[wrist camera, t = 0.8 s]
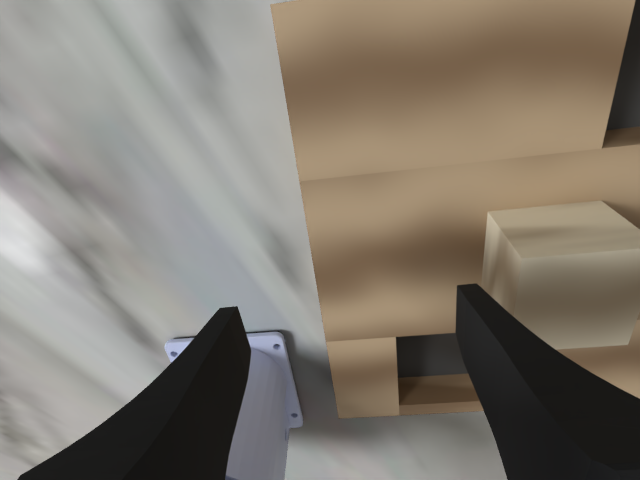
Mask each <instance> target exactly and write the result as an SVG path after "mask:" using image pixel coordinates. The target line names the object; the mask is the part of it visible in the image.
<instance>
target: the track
mask: <svg viewBox="0 0 640 480" xmlns="http://www.w3.org/2000/svg"><path fill="white" fill-rule="evenodd" d="M270 6H271V12H272V18H273V24H274V30H275V36H276V42H277V48H278V54H279V60H280V66H281V72H282V78H283V84H284V90H285V96H286V103H287V109H288V115H289V121H290V127H291V133H292V139H293V145H294V151H295V157H296V163H297V169H298V175H299V181H300V187H301V193H302V199H303V205H304V211H305V218H306V224H307V230H308V236H309V242H310V248H311V254H312V260H313V266H314V272H315V278H316V284H317V290H318V296H319V302H320V308H321V314H322V320H323V326H324V333H325V339H326V345H327V351H328V357H329V363H330V369H331V375H332V381H333V387H334V393H335V399H336V405H337V411H338V417H339V419H342V418H361V417H379V416H398V415H417V414H436V413H455V412H474V411H484V410H483V408H482V405H481V403H480V400H479V398H478V396H477V393H476V391H475V389H474V386H473V384H472V381H471V379H470V377H469V374H468V372H467V369H466V367H465V364H464V362H463V359H462V355H461V352H460V348H459V345H458V341H457V337H456V333H455V330H456V296H457V285H464V284H474V283H477V284H478V285H479V286H480V287H481V281H482V270H483V259H484V248H485V237H486V226H487V214H488V212H489V211H499V210H509V209H520V208H530V207H540V206H550V205H561V204H571V203H581V202H591V201H602V202H604V203H605V204H606V205H608V206H609V207H610V208H612V209H613V210H614V211H616V212H617V213H618V214H620V215H621V216H622V217H624V218H625V219H626V220H628V221H629V222H630V223H632V224H633V225H634V226H636V227H637V228H638V229H640V0H297V1H290V2H283V3H277V4H270ZM557 351H558V352H560V353H561V354H563V355H564V356H566V357H567V358H569V359H571V360H572V361H574V362H575V363H577V364H578V365H580V366H581V367H583V368H585V369H586V370H588V371H590V372H591V373H593V374H595V375H596V376H598V377H600V378H602V379H604V380H605V381H607V382H609V383H611V384H613V385H614V386H616V387H618V388H620V389H622V390H624V391H626V392H628V393H630V394H632V395H634V396H635V397H637V398H639V399H640V312H639V315H638V318H637V321H636V324H635V326H634V329H633V332H632V335H631V338H630V341H629V344H628V345H618V346H603V347H588V348H572V349H557Z"/></svg>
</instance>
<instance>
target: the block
mask: <svg viewBox="0 0 640 480" xmlns="http://www.w3.org/2000/svg"><path fill="white" fill-rule="evenodd" d="M481 287H482V288H483V289H484V290H485V291H486V292H487V293H488V294H489V295H490V296H491V297H492V298H493V299H494V300H495V301H497V302H498V303H499V304H500V305H501V306H502V307H503V308H504V309H505V310H507V311H508V312H509V313H510V314H511V315H512V316H513V317H515V318H516V319H517V320H518V321H519V322H521V323H522V324H523V325H524V326H525V327H527V328H528V329H529V330H530V331H532V332H533V333H534V334H535V335H537V336H538V337H539V338H540V339H542V340H543V341H544V342H546V343H547V344H548V345H550V346H551V347H553V348H554V349H555V350H557V349H572V348H588V347H603V346H618V345H628V344H629V341H630V338H631V335H632V332H633V329H634V326H635V324H636V321H637V318H638V315H639V312H640V229H638V228H637V227H636V226H634V225H633V224H632V223H630V222H629V221H628V220H626V219H625V218H624V217H622V216H621V215H620V214H618V213H617V212H616V211H614V210H613V209H612V208H610V207H609V206H608V205H606V204H605V203H604V202H602V201H591V202H581V203H571V204H561V205H550V206H540V207H530V208H520V209H509V210H499V211H489V212H488V214H487V226H486V237H485V248H484V259H483V270H482V281H481Z"/></svg>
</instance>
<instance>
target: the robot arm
mask: <svg viewBox="0 0 640 480" xmlns="http://www.w3.org/2000/svg"><path fill="white" fill-rule="evenodd" d="M455 333H456V337H457V341H458V345H459V348H460V352H461V355H462V359H463V362H464V364H465V367H466V369H467V372H468V374H469V377H470V379H471V381H472V384H473V386H474V389H475V391H476V393H477V396H478V398H479V400H480V403H481V405H482V408H483V410H484V412H485V415H486V417H487V419H488V422H489V424H490V427H491V429H492V432H493V435H494V437H495V440H496V443H497V446H498V450H499V453H500V456H501V459H502V463H503V466H504V469H505V472H506V476H507V479H508V480H640V399H639V398H637V397H635V396H634V395H632V394H630V393H628V392H626V391H624V390H622V389H620V388H618V387H616V386H614V385H613V384H611V383H609V382H607V381H605V380H604V379H602V378H600V377H598V376H596V375H595V374H593V373H591V372H590V371H588V370H586V369H585V368H583V367H581V366H580V365H578V364H577V363H575V362H574V361H572V360H571V359H569V358H567V357H566V356H564V355H563V354H561V353H560V352H558V351H557V350H555V349H554V348H553V347H551V346H550V345H548V344H547V343H546V342H544V341H543V340H542V339H540V338H539V337H538V336H537V335H535V334H534V333H533V332H532V331H530V330H529V329H528V328H527V327H525V326H524V325H523V324H522V323H521V322H519V321H518V320H517V319H516V318H515V317H513V316H512V315H511V314H510V313H509V312H508V311H507V310H505V309H504V308H503V307H502V306H501V305H500V304H499V303H498V302H497V301H495V300H494V299H493V298H492V297H491V296H490V295H489V294H488V293H487V292H486V291H485V290H484V289H483V288H482V287H480V286H479V285H478V284H477V283H474V284H464V285H457V296H456V330H455ZM275 344H279V345H275ZM165 350H166V352H167V355H168V357H169V359H170V361H171V364H170V365H169V366H168V367H167V368H166V369H165V370H164V371H163V372H162V373H161V374H160V375H159V376H158V377H157V378H156V379H155V380H154V381H153V382H152V383H151V384H150V385H149V386H147V387H146V388H145V389H144V390H143V391H142V392H141V393H139V394H138V395H137V396H136V397H135V398H134V399H133V400H131V401H130V402H129V403H128V404H126V405H125V406H124V407H123V408H121V409H120V410H119V411H117V412H116V413H115V414H114V415H112V416H111V417H110V418H108V419H107V420H106V421H105V422H103V423H102V424H101V425H99V426H98V427H96V428H95V429H94V430H92V431H91V432H89V433H88V434H86V435H85V436H84V437H82V438H81V439H79V440H78V441H76V442H75V443H73V444H72V445H70V446H69V447H67V448H65V449H64V450H62V451H61V452H59V453H57V454H56V455H54V456H52V457H51V458H49V459H47V460H46V461H44V462H42V463H41V464H39V465H37V466H36V467H34V468H32V469H31V470H29V471H27V472H25V473H24V474H22V475H20V477H19V478H18V480H284V478H285V468H286V459H287V450H288V440H289V431H290V428H298V427H301V426H302V425H303V416H302V412H301V408H300V404H299V399H298V395H297V391H296V387H295V382H294V378H293V374H292V370H291V365H290V361H289V357H288V353H287V348H286V344H285V340H284V336H283V335H282V334H281V333H279V332H265V333H251V334H246V332H245V329H244V325H243V322H242V319H241V316H240V313H239V310H238V307H237V306H236V307H226V308H220V309H219V310H218V311H217V312H216V313H215V314H214V315H213V317H212V318H211V319H210V320H209V321H208V323H207V324H206V325H205V326H204V327H203V328H202V330H201V331H200V332H199V333H198V334H197V335H196V337H195V338H184V339H171V340H168V341H167V342H166V344H165ZM174 351H175V352H174Z"/></svg>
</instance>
